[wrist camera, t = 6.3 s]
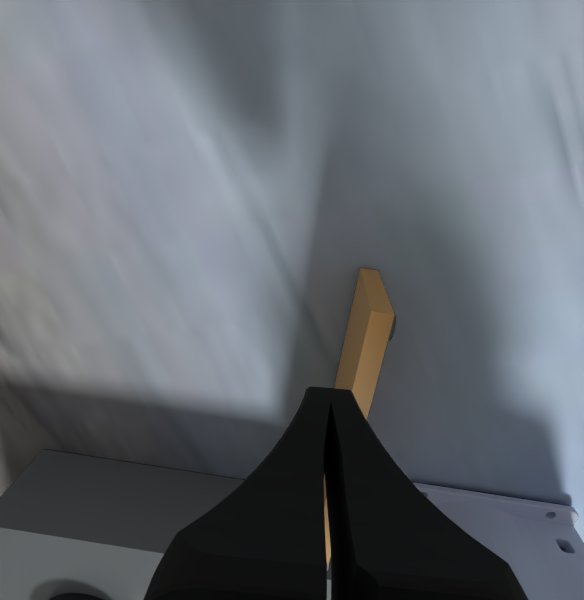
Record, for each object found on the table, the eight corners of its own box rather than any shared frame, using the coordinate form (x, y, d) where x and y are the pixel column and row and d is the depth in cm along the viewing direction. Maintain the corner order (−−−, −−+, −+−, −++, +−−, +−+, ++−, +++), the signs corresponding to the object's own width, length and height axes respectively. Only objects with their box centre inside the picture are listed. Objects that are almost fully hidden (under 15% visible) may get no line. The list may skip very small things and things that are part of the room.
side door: (336, 489, 24) (338, 576, 19) (311, 485, 24) (307, 571, 19) (390, 271, 18) (412, 317, 14) (358, 266, 18) (369, 310, 14)
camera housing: (345, 495, 24) (351, 606, 18) (320, 604, 28) (318, 722, 22) (43, 449, 24) (-41, 543, 19) (59, 562, 28) (-6, 668, 22)
